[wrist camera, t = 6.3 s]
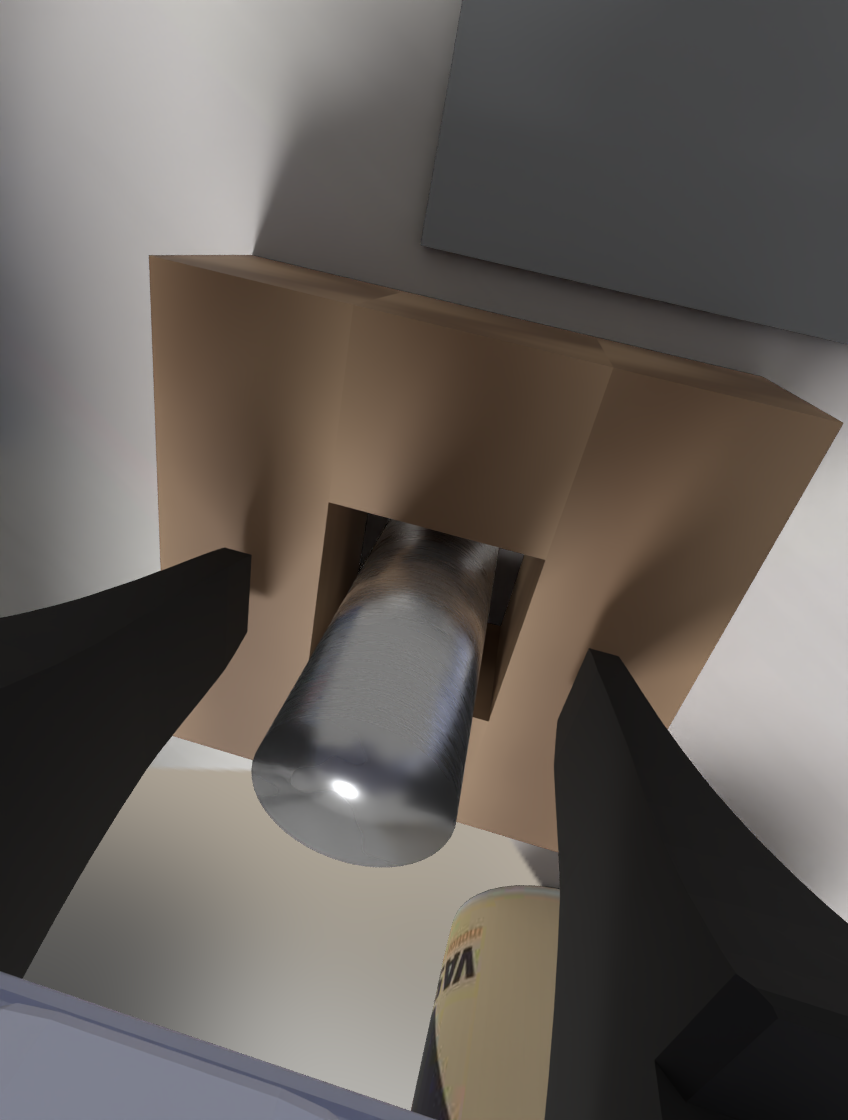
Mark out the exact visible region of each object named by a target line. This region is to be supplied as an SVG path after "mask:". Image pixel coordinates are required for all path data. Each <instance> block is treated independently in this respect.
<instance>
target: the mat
mask: <svg viewBox="0 0 848 1120" xmlns="http://www.w3.org/2000/svg"><path fill="white" fill-rule="evenodd" d="M421 246H426V247H430V248H434V249H439V250H443V251H447V252H451V253H456V254H460V255H464V256H469V257H473V258H477V259H482V260H486V261H490V262H495V263H499V264H503V265H508V266H512V267H516V268H520V269H525V270H529V271H533V272H538V273H542V274H546V275H551V276H555V277H559V278H564V279H568V280H572V281H577V282H581V283H585V284H589V285H594V286H598V287H602V288H607V289H611V290H615V291H620V292H624V293H628V294H633V295H637V296H641V297H645V298H650V299H654V300H658V301H663V302H667V303H671V304H676V305H680V306H684V307H689V308H693V309H697V310H702V311H706V312H710V313H714V314H719V315H723V316H727V317H732V318H736V319H740V320H745V321H749V322H753V323H758V324H762V325H766V326H771V327H775V328H779V329H783V330H788V331H792V332H796V333H801V334H805V335H809V336H814V337H818V338H822V339H827V340H831V341H835V342H839V343H844V344H848V0H462V6H461V12H460V18H459V23H458V29H457V35H456V41H455V47H454V53H453V59H452V64H451V70H450V76H449V82H448V88H447V94H446V99H445V105H444V111H443V117H442V123H441V129H440V134H439V140H438V146H437V152H436V158H435V164H434V169H433V175H432V181H431V187H430V193H429V199H428V204H427V210H426V216H425V222H424V228H423V234H422V239H421Z"/></svg>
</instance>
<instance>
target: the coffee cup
mask: <svg viewBox="0 0 848 1120" xmlns="http://www.w3.org/2000/svg"><path fill="white" fill-rule="evenodd" d="M559 905H560V890H559V889H555V888H549V887H542V886H524V885H523V886H522V885H521V886H520V885H518V886H517V885H516V886H507V887H500V888H495V889H491V890H488V891H485V892H483V893H480V894H478V895H476V896H474V897H472V898H471V899H469V900H468V901H466V902H465V903H464V904H463V905H462V906H461V908H460V909H459V910H458V912H457V913H456V915H455V918H454V920H453V923H452V926H451V930H450V934H449V938H448V942H447V947H446V951H445V955H444V960H443V964H442V969H441V974H440V979H439V983H438V987H437V992H436V997H435V1002H434V1006H433V1011H432V1015H431V1020H430V1025H429V1029H428V1034H427V1038H426V1043H425V1048H424V1052H423V1057H422V1062H421V1066H420V1071H419V1076H418V1080H417V1085H416V1090H415V1094H414V1098H413V1104H412V1108H411V1111H412V1112H415V1113H418V1114H421V1115H424V1116H427V1117H430V1118H433V1119H436V1120H544V1118H545V1108H546V1098H547V1088H548V1077H549V1065H550V1052H551V1039H552V1027H553V1014H554V999H555V983H556V967H557V950H558V928H559Z"/></svg>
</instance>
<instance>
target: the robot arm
mask: <svg viewBox="0 0 848 1120" xmlns="http://www.w3.org/2000/svg"><path fill="white" fill-rule="evenodd" d="M251 559H252V555H251V554H247V553H243V552H240V551H236V550H232V549H229V548H225V547H224V548H221V549H217V550H214V551H211V552H209V553H206V554H203V555H200V556H198V557H195V558H193V559H190V560H187V561H185V562H182V563H180V564H177V565H174V566H172V567H169V568H167V569H164V570H161V571H159V572H156V573H153V574H151V575H148V576H145V577H143V578H140V579H137V580H135V581H132V582H129V583H126V584H123V585H120V586H117V587H114V588H111V589H108V590H105V591H102V592H99V593H96V594H93V595H90V596H87V597H83V598H80V599H76V600H73V601H69V602H66V603H62V604H59V605H55V606H51V607H47V608H43V609H39V610H35V611H31V612H27V613H22V614H18V615H13V616H8V617H3V618H0V1120H436V1119H433V1118H430V1117H427V1116H424V1115H421V1114H418V1113H415V1112H412V1111H409V1110H406V1109H403V1108H400V1107H397V1106H394V1105H391V1104H389V1103H385V1102H383V1101H380V1100H377V1099H374V1098H371V1097H368V1096H365V1095H362V1094H359V1093H356V1092H353V1091H350V1090H347V1089H344V1088H341V1087H338V1086H336V1085H333V1084H329V1083H327V1082H324V1081H320V1080H318V1079H315V1078H312V1077H309V1076H306V1075H303V1074H300V1073H297V1072H294V1071H292V1070H289V1069H286V1068H282V1067H279V1066H276V1065H274V1064H271V1063H268V1062H265V1061H262V1060H259V1059H256V1058H253V1057H250V1056H247V1055H244V1054H242V1053H239V1052H236V1051H233V1050H230V1049H227V1048H224V1047H221V1046H218V1045H215V1044H212V1043H209V1042H206V1041H203V1040H200V1039H197V1038H194V1037H192V1036H189V1035H186V1034H183V1033H180V1032H177V1031H174V1030H171V1029H168V1028H165V1027H162V1026H159V1025H156V1024H153V1023H150V1022H147V1021H144V1020H141V1019H138V1018H136V1017H133V1016H129V1015H127V1014H124V1013H121V1012H118V1011H115V1010H112V1009H109V1008H106V1007H103V1006H100V1005H97V1004H94V1003H92V1002H89V1001H86V1000H83V999H80V998H77V997H74V996H71V995H68V994H65V993H62V992H59V991H56V990H53V989H50V988H47V987H45V986H41V985H39V984H36V983H33V982H30V981H27V980H24V979H22V978H23V976H24V975H25V973H26V971H27V969H28V967H29V965H30V964H31V962H32V960H33V958H34V956H35V955H36V953H37V951H38V949H39V947H40V945H41V944H42V942H43V940H44V938H45V936H46V935H47V933H48V931H49V929H50V927H51V925H52V924H53V922H54V920H55V918H56V916H57V915H58V913H59V911H60V909H61V908H62V906H63V904H64V903H65V901H66V899H67V897H68V896H69V894H70V892H71V890H72V889H73V887H74V885H75V883H76V882H77V880H78V878H79V876H80V875H81V873H82V872H83V870H84V868H85V866H86V865H87V863H88V861H89V859H90V858H91V856H92V855H93V853H94V851H95V850H96V848H97V847H98V845H99V843H100V842H101V840H102V838H103V837H104V835H105V833H106V832H107V830H108V829H109V827H110V825H111V824H112V822H113V821H114V819H115V817H116V816H117V814H118V812H119V811H120V809H121V808H122V806H123V805H124V803H125V802H126V800H127V799H128V797H129V795H130V794H131V792H132V791H133V789H134V788H135V786H136V785H137V783H138V782H139V780H140V779H141V777H142V775H143V774H144V772H145V771H146V769H147V768H148V767H149V765H150V764H151V763H152V761H153V760H154V758H155V757H156V756H157V754H158V753H159V752H160V750H161V749H162V748H163V747H164V745H165V744H166V743H167V742H168V740H169V739H170V738H171V737H172V735H173V734H174V733H175V732H176V731H177V729H178V728H179V727H180V726H181V724H182V723H183V722H184V721H185V719H186V718H187V717H188V716H189V714H190V713H191V712H192V711H193V709H194V708H195V707H196V706H197V705H198V703H199V702H200V701H201V700H202V698H203V697H204V696H205V695H206V693H207V692H208V691H209V689H210V688H211V687H212V686H213V684H214V683H215V682H216V681H217V679H218V678H219V677H220V676H221V674H222V673H223V672H224V670H225V669H226V667H227V666H228V664H229V662H230V661H231V659H232V658H233V656H234V654H235V653H236V651H237V649H238V648H239V646H240V644H241V642H242V641H243V639H244V637H245V635H246V634H247V632H248V614H249V595H250V577H251ZM554 782H555V802H556V819H557V837H558V854H559V871H560V905H559V928H558V950H557V967H556V983H555V999H554V1014H553V1027H552V1039H551V1052H550V1065H549V1077H548V1088H547V1098H546V1108H545V1118H544V1120H848V923H847V922H846V921H844V920H843V919H842V918H841V917H840V916H839V915H837V914H836V913H835V912H834V911H833V910H832V909H831V908H829V907H828V906H827V905H826V904H825V903H824V902H823V901H822V900H820V899H819V898H818V897H817V896H816V895H815V894H814V893H813V892H812V891H811V890H809V889H808V888H807V887H806V886H805V885H804V884H803V883H802V882H801V881H800V880H799V879H798V878H797V877H795V876H794V875H793V874H792V873H791V872H790V871H789V870H788V869H787V868H786V867H785V866H784V865H783V864H782V863H781V862H780V861H779V860H778V859H777V858H776V857H775V856H774V855H773V854H772V853H771V852H770V851H769V850H768V849H767V848H766V847H765V846H764V845H763V844H762V843H761V842H760V841H759V840H758V839H757V838H756V837H755V836H754V835H753V834H752V833H751V832H750V831H749V829H748V828H747V827H746V826H745V825H744V824H743V823H742V822H741V821H740V820H739V818H738V817H737V816H736V815H735V814H734V813H733V812H732V811H731V809H730V808H729V807H728V806H727V805H726V804H725V803H724V802H723V800H722V799H721V798H720V797H719V796H718V795H717V794H716V792H715V791H714V790H713V789H712V788H711V786H710V785H709V784H708V783H707V782H706V780H705V779H704V778H703V777H702V775H701V774H700V773H699V771H698V770H697V769H696V767H695V766H694V765H693V764H692V762H691V761H690V760H689V758H688V757H687V756H686V755H685V753H684V752H683V751H682V749H681V748H680V746H679V745H678V744H677V742H676V741H675V740H674V738H673V737H672V735H671V734H670V733H669V731H668V730H667V728H666V727H665V725H664V724H663V722H662V721H661V720H660V718H659V717H658V715H657V714H656V712H655V711H654V709H653V708H652V706H651V705H650V703H649V702H648V700H647V698H646V697H645V695H644V694H643V692H642V691H641V689H640V688H639V686H638V685H637V683H636V681H635V680H634V678H633V677H632V675H631V674H630V672H629V671H628V669H627V667H626V666H625V664H624V663H623V662H622V660H621V659H620V657H619V656H616V655H613V654H609V653H605V652H602V651H598V650H594V649H591V648H589V649H588V651H587V653H586V656H585V658H584V660H583V663H582V665H581V667H580V669H579V672H578V674H577V676H576V679H575V681H574V683H573V685H572V688H571V690H570V692H569V695H568V697H567V699H566V702H565V704H564V706H563V708H562V711H561V713H560V715H559V718H558V720H557V729H556V741H555V754H554Z"/></svg>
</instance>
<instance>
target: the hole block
mask: <svg viewBox="0 0 848 1120" xmlns="http://www.w3.org/2000/svg"><path fill="white" fill-rule="evenodd" d="M149 270H150V297H151V323H152V350H153V377H154V403H155V430H156V457H157V483H158V510H159V537H160V563H161V570H164V569H167V568H169V567H172V566H174V565H177V564H180V563H182V562H185V561H187V560H190V559H193V558H195V557H198V556H200V555H203V554H206V553H209V552H211V551H214V550H217V549H221V548H224V547H225V548H229V549H232V550H236V551H240V552H243V553H247V554H251V555H252V559H251V577H250V595H249V614H248V632H247V634H246V635H245V637H244V639H243V641H242V642H241V644H240V646H239V648H238V649H237V651H236V653H235V654H234V656H233V658H232V659H231V661H230V662H229V664H228V666H227V667H226V669H225V670H224V672H223V673H222V674H221V676H220V677H219V678H218V679H217V681H216V682H215V683H214V684H213V686H212V687H211V688H210V689H209V691H208V692H207V693H206V695H205V696H204V697H203V698H202V700H201V701H200V702H199V703H198V705H197V706H196V707H195V708H194V709H193V711H192V712H191V713H190V714H189V716H188V717H187V718H186V719H185V721H184V722H183V723H182V724H181V726H180V727H179V728H178V729H177V731H176V732H175V733H174V734H173V735H172V736H175V737H178V738H181V739H185V740H188V741H191V742H195V743H198V744H201V745H205V746H208V747H211V748H214V749H218V750H221V751H224V752H228V753H231V754H234V755H238V756H241V757H244V758H248V759H251V760H253V759H254V756H255V753H256V751H257V749H258V748H259V746H260V744H261V742H262V741H263V739H264V737H265V735H266V734H267V732H268V730H269V728H270V727H271V725H272V723H273V721H274V720H275V718H276V716H277V715H278V713H279V711H280V709H281V708H282V706H283V704H284V702H285V701H286V699H287V697H288V695H289V694H290V692H291V690H292V689H293V687H294V685H295V683H296V682H297V680H298V678H299V676H300V675H301V673H302V671H303V669H304V668H305V666H306V664H307V662H308V661H309V659H310V657H311V656H312V654H313V652H314V650H315V649H316V647H317V645H318V643H319V642H320V640H321V638H322V636H323V635H324V633H325V631H326V630H327V628H328V626H329V624H330V623H331V621H332V619H333V617H334V616H335V614H336V612H337V610H338V609H339V607H340V605H341V603H342V602H343V600H344V598H345V597H346V595H347V593H348V591H349V590H350V588H351V586H352V584H353V583H354V581H355V579H356V577H357V576H358V570H359V563H360V557H361V551H362V545H363V539H364V533H365V527H366V521H367V515H368V513H371V514H375V515H379V516H383V517H386V518H390V519H394V520H398V521H401V522H405V523H409V524H413V525H416V526H420V527H424V528H428V529H431V530H435V531H439V532H443V533H446V534H450V535H454V536H458V537H461V538H465V539H469V540H473V541H476V542H480V543H484V544H488V545H491V546H495V547H499V548H502V549H506V550H510V551H514V552H517V553H521V554H524V557H523V560H522V563H521V566H520V569H519V572H518V575H517V579H516V582H515V585H514V588H513V591H512V594H511V597H510V600H509V603H508V606H507V609H506V612H505V615H504V618H503V621H502V624H501V626H497V625H494V624H490V623H487V628H486V635H485V641H484V648H483V654H482V660H481V667H480V673H479V680H478V686H477V693H476V699H475V705H474V712H473V718H472V725H471V731H470V737H469V744H468V750H467V757H466V763H465V770H464V776H463V782H462V789H461V795H460V802H459V808H458V815H457V820H456V822H459V823H463V824H466V825H469V826H472V827H476V828H479V829H483V830H486V831H489V832H492V833H496V834H499V835H502V836H505V837H509V838H512V839H515V840H519V841H522V842H525V843H529V844H532V845H535V846H539V847H542V848H545V849H548V850H552V851H555V852H558V837H557V819H556V802H555V782H554V754H555V741H556V729H557V720H558V718H559V715H560V713H561V711H562V708H563V706H564V704H565V702H566V699H567V697H568V695H569V692H570V690H571V688H572V685H573V683H574V681H575V679H576V676H577V674H578V672H579V669H580V667H581V665H582V663H583V660H584V658H585V656H586V653H587V651H588V649H589V648H591V649H594V650H598V651H602V652H605V653H609V654H613V655H616V656H619V657H620V659H621V660H622V662H623V663H624V664H625V666H626V667H627V669H628V671H629V672H630V674H631V675H632V677H633V678H634V680H635V681H636V683H637V685H638V686H639V688H640V689H641V691H642V692H643V694H644V695H645V697H646V698H647V700H648V702H649V703H650V705H651V706H652V708H653V709H654V711H655V712H656V714H657V715H658V717H659V718H660V720H661V721H662V722H663V724H664V725H665V727H666V728H667V729H668V728H669V726H670V724H671V722H672V721H673V719H674V717H675V716H676V714H677V712H678V710H679V709H680V707H681V705H682V703H683V702H684V700H685V698H686V696H687V695H688V693H689V691H690V689H691V688H692V686H693V684H694V682H695V681H696V679H697V677H698V675H699V674H700V672H701V670H702V669H703V667H704V665H705V663H706V662H707V660H708V658H709V656H710V655H711V653H712V651H713V649H714V648H715V646H716V644H717V642H718V641H719V639H720V637H721V635H722V634H723V632H724V630H725V628H726V627H727V625H728V623H729V622H730V620H731V618H732V616H733V615H734V613H735V611H736V609H737V608H738V606H739V604H740V602H741V601H742V599H743V597H744V595H745V594H746V592H747V590H748V588H749V587H750V585H751V583H752V581H753V580H754V578H755V576H756V575H757V573H758V571H759V569H760V568H761V566H762V564H763V562H764V561H765V559H766V557H767V555H768V554H769V552H770V550H771V548H772V547H773V545H774V543H775V541H776V540H777V538H778V536H779V534H780V533H781V531H782V529H783V528H784V526H785V524H786V522H787V521H788V519H789V517H790V515H791V514H792V512H793V510H794V508H795V507H796V505H797V503H798V501H799V500H800V498H801V496H802V494H803V493H804V491H805V489H806V487H807V486H808V484H809V482H810V481H811V479H812V477H813V475H814V474H815V472H816V470H817V468H818V467H819V465H820V463H821V461H822V460H823V458H824V456H825V454H826V453H827V451H828V449H829V447H830V446H831V444H832V442H833V440H834V439H835V437H836V435H837V434H838V432H839V430H840V428H841V427H842V425H843V422H841V421H839V420H837V419H836V418H834V417H832V416H830V415H829V414H827V413H825V412H823V411H822V410H820V409H818V408H816V407H815V406H813V405H811V404H809V403H808V402H806V401H804V400H802V399H801V398H799V397H797V396H795V395H794V394H792V393H790V392H788V391H787V390H785V389H783V388H781V387H780V386H778V385H776V384H774V383H773V382H771V381H769V380H767V379H766V378H764V377H761V376H757V375H753V374H749V373H744V372H740V371H736V370H732V369H728V368H723V367H719V366H715V365H711V364H707V363H702V362H698V361H694V360H690V359H686V358H681V357H677V356H673V355H669V354H665V353H660V352H656V351H652V350H648V349H644V348H639V347H635V346H631V345H627V344H623V343H618V342H614V341H610V340H606V339H602V338H597V337H593V336H589V335H585V334H581V333H577V332H572V331H568V330H564V329H560V328H556V327H551V326H547V325H543V324H539V323H535V322H530V321H526V320H522V319H518V318H514V317H509V316H505V315H501V314H497V313H493V312H488V311H484V310H480V309H476V308H472V307H467V306H463V305H459V304H455V303H451V302H446V301H442V300H438V299H434V298H430V297H425V296H421V295H417V294H413V293H409V292H404V291H400V290H396V289H392V288H388V287H383V286H379V285H375V284H371V283H367V282H362V281H358V280H354V279H350V278H346V277H341V276H337V275H333V274H329V273H325V272H320V271H316V270H312V269H308V268H304V267H299V266H295V265H291V264H287V263H283V262H278V261H274V260H270V259H266V258H262V257H257V256H253V255H149Z"/></svg>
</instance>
